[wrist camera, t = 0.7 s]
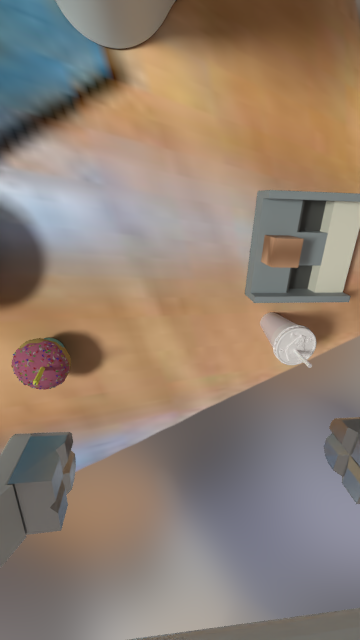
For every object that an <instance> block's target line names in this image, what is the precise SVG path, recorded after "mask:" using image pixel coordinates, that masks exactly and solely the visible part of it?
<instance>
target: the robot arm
mask: <svg viewBox="0 0 360 640" xmlns="http://www.w3.org/2000/svg"><path fill="white" fill-rule="evenodd" d="M55 1H56V2H57V4H58V6H59V8H60V9H61V11H62V12H63V14H64V15H65V17H66V18H67V19H68V20H69V22H70V23H71V24H72V25H73V26H74V27H75V28H76V29H77V30H78V31H79V32H80V33H81V34H83V35H84V36H85V37H87V38H88V39H90V40H91V41H93V42H95V43H97V44H100V45H102V46H105V47H109V48H118V49H120V48H129V47H133V46H136V45H138V44H140V43H142V42H144V41H146V40H147V39H148V38H150V37H151V36H152V35H153V34H154V33H155V32H156V31H157V30H158V28H159V27H160V26H161V24H162V23H163V21H164V20H165V18H166V16H167V14H168V12H169V10H170V8H171V7H172V5H173V4H174V2H175V1H176V0H55ZM330 430H331V432H332V434H331V435H330V436H328V437H327V438H326V441H325V445H324V451H325V456H326V459H327V461H328V463H329V465H330V466H331V468H332V469H333V470H334V471H335V472H337V473H338V474H340V475H341V476H342V484H343V485H344V487H345V488H346V489H347V491H348V492H349V493H350V495H351V497H352V498H353V499H354V501H355V502H356V504H360V417H352V418H336V419H334V420H333V421H332V422H331V425H330ZM72 444H73V439H72V433H70V432H53V433H33V434H15V435H13V436H12V437H11V438H10V439H9V441H8V443H7V445H6V446H5V448H4V450H3V452H2V453H1V455H0V568H1V567H2V566H3V564H4V563H5V562H6V561H7V559H9V557H10V556H11V555H12V554H13V552H14V551H15V550H16V549H17V548H18V546H19V545H20V544H21V543H22V541H23V540H24V539H25V538H26V535H27V534H36V533H44V532H52V531H61V529H62V525H63V521H64V517H65V514H66V510H67V506H68V503H67V497H66V495H67V494H68V493H69V492H70V491H71V489H72V486H73V482H74V476H75V468H76V464H75V453H73V452H72V451H71V448H72ZM129 640H360V608H356V609H349V610H342V611H335V612H327V613H320V614H312V615H305V616H297V617H290V618H283V619H276V620H268V621H261V622H253V623H247V624H239V625H231V626H224V627H217V628H209V629H203V630H195V631H188V632H180V633H174V634H166V635H158V636H151V637H144V638H136V639H129Z"/></svg>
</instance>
